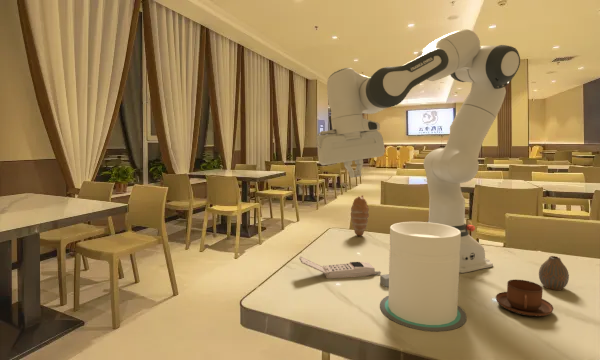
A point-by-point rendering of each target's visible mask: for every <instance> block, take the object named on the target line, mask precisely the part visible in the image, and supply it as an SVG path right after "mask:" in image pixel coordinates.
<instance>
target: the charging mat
mask: <svg viewBox="0 0 600 360" xmlns="http://www.w3.org/2000/svg"><path fill="white" fill-rule="evenodd" d="M379 275H380V276H379V277H380V278H379V281H380V284H381V285H382V286H383V287H385V288H389V273H388V274H387V273H386V274H379ZM388 298H389V295H387V296H385V297H383V298H382V299H381V300H380V303H379V308H380V311H381V313H382V314H384V316H385V317H387V318H388V319H389V320H391V321H392V322H394V323H396V324H398V325H401V326H404V327H407V328H411V329H413V330H414V329H415V330H419V331H426V332H444V331H445V332H447V331H452V330H455V329H458V328H460V327H462V326H463V325H464V324H465V323H466V322H467V315H466V314H467V313H466V312H465V310H464V309H463V308H462V307H461V306H459V305H458V307H457V317H456V318H455V320H454V321H452V322H450V323H447V324H442V325H425V324H417V323H414V322H410V321H407V320H404V319H402V318H400V317H398V316H396V315H395V314H394V313H392V312H391V310H390V309H389V307H388Z"/></svg>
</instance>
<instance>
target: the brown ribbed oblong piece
mask: <svg viewBox="0 0 600 360" xmlns="http://www.w3.org/2000/svg"><path fill="white" fill-rule="evenodd" d="M352 204H353V205H352V206H351V208H350V211H351V212H350V217H351V222H352V228H353V229H354V231H353V232H354V233H355V235H356V236H359V237H361V236H363V235H364V233H365V230H366V229H367V226H368V220H369V219H368V218H369V216H370V213H369V210H370V209H369V205H368V202H367V200H366V199H365V198H364V195H363V194H362V195H361V196H357V197H355V198H354V199H353V202H352Z"/></svg>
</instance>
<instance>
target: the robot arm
mask: <svg viewBox="0 0 600 360" xmlns="http://www.w3.org/2000/svg"><path fill="white" fill-rule="evenodd" d="M520 56H521V55H520V53H519V51H518V49H517V48H516V47H513V46H511V45H506V44H499V45H481V41H480V38H479V36H478V34H476V32H475V31H473V30H470V29H466V28H465V29H464V28H463V29H460V30H456V31H453V32H450V33H448V34H445V35H443V36H441V37H439V38H437V39H435V40H434V41H432V42H430V43H429V44H427V45H426V46H424V47H423V48H422V49H421V50H420V51H418V53H417V56H416V58H415V59H412V60H411V61H408V62H406V63H405V64H402V65H397V66H384V67H382V68H379V69H378V70H376V71H375V72H374V73H373V74H371V76H370V77H369V76H367V75H363V74H360V73H359V72H357V71H355V69H354V68H352V67H344V68H341V69H338V70H337V71H334V72H333V73H332V74H331V75H330V76H329V77H328V79H327V80H326V91H327V92H326V94H327V102H328V106H329V109H330V113H331V116H330V121H331V128H332V129H329V130H321V131H320V132H319V133H318V134H317V135H316V136H315V137H316V144H317V157H318V163H319V164H320V165H321V166H328V165H335V164H340V163H343V166H344V168H345V169H346V170H347V171H348V175H349V178H350V179H353V178H357V177H362V168H363V165H364V160H366V159H372V158H378V157H384V154H385V152H386V150H385V149H386V147H385V142H384V138H383V135H382V133H381V132H380V131H379V130H380V129H381V125H380V122H378V121H373V120H370V119H367V118H364V115H363V114H366V115H375V114H377V113H379V112H382V111H384V110H386V109H390V108H393V107H395V106H398V105H399V104H401V103H402V102H403V101H404V100H405V98H406V97H407V95H408V94H409V92H411V90H412V89H413V88H414V87H416V86H417V85H419V84H421V83H423V82H425V81H430V82H435V81H438V80H442V79H444V78H447V77H448V76H450V77H451V78H452V79H454V80H455V81H457V82H460V83H469V84H470V83H471V85H470V86H471V88H470V92H469V93H468V95H467V96H466V97H465V99H464V101H463V103H462V104H461V106H460V107H459V110H458V112H457V113H456V115H455V116H454V119H453V121H452V122H451V124H450V126H449V135H448V139H447V142H446V143H445V146H444V148H442V147H441V148H435V149H433V150H431V151H430V152H428V154H427V155H426V156H425V157H424V159H423V168H424V171H425V176H426V182H427V183H426V185H427V189H428V198H429V199H428V200H429V201H428V202H429V205H428V207H429V208H428V221H427V222H429V223H437V224H443V225H448V226H451V227H454V228H456V229H458V230H460V232H461V240H460V252H459V255H460V262H459V274H463V273H468V272H474V271H478V270H482V269H487V268H491V267H492V268H493V267H494V265H493V262H492V261H491V260H490V259H487V258H486V251H485V248H484V246H483V245H482V244H481V243H479V242H478V241H477V240H476V239H475V238H474V237H472V236H471V235H470V234H469V231H470V232H475V230H476V226H475V225H473V224H466V223H465V217H466V216H465V213H466V210H465V209H466V200H465V197H464V195H463V192H462V187H461V184H463V183H468V182H470V181H472V180H474V179H475V177H476V175H477V174H478V172H479V169H480V168H479V167H480V165H479V155H480V152H481V148H482V146H483V142H484V140H485V138H486V136H487V134H488V132H489V131H490V129H491V127H492V125H493V124H494V122H495V120H496V119H497V116H498V114H499V112H500V110H501V108H502V105H503V103H504V100H505V97H506V93H507V91H506V86H508V85H509V84H510V82H511V81H512V80H513V79H514V77H515V75H517V72H518V70H519V68H520V66H521V57H520ZM353 161H354V163H355V165H356V167H355V170H354V168H353Z"/></svg>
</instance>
